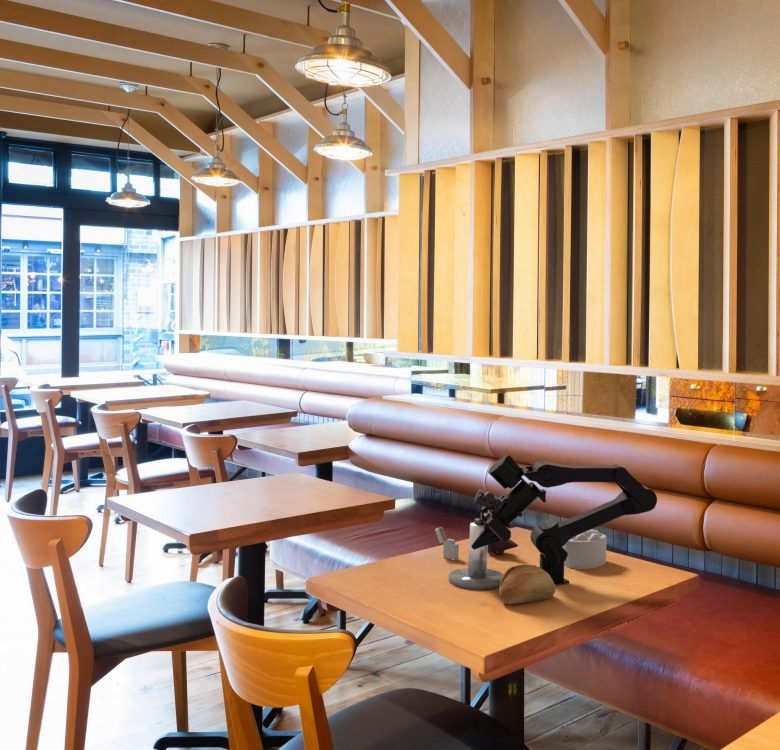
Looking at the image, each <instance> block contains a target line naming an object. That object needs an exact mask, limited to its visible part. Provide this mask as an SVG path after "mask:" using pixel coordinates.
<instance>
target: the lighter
mask: <svg viewBox="0 0 780 750" xmlns="http://www.w3.org/2000/svg"><path fill="white" fill-rule="evenodd" d="M434 530H435V534H436V536H437V539H438V540H437V541H438V542H439V544H443V546H442V547H443V553H442V554H443V556H442V557H445V558H444V559H446V558H449V559H448V560H450V559H454V560H455V561H458V560H459V550H460V548H459V547H460V545H459V542H458V543H457V542H456V540H455V539H452V538H447V537H446V534H445V531H444V529H443V526H439V527H437V528H434ZM457 559H458V560H457ZM454 560H453V561H454Z"/></svg>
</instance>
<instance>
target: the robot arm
mask: <svg viewBox="0 0 780 750" xmlns="http://www.w3.org/2000/svg"><path fill="white" fill-rule="evenodd" d="M487 472H488V473H487V474H489V475H490V476H491V478H493V479H494V481H496V482H497V484H498V485H500V486H501V487H502V488H503V490H506V489H510V491H509V492H508V493H507V494H502V495H500V496H497V495H495V493H491V492H490V491H489V490H488V491H487V490H484V489H483V488H478V490H477V492H476V494H475V496H474V498H473V501H474V503H475V504H477V505H479V506H482V507H480V509H481V512H480V518H481V519H484V529H483V531H482V532H481V533H480V535H479V536H478V537H477V539H476V540H475V541H474V543H473V544H472V546H471V547H472V548H473V549H474V550H475V549H478V548H480V547H483V546H486V545H489V544H492V543H495V542H498V541H502V540H503V541H504V542H505V543H506V542H507V541H508V540H509V539H510V540H511V537H512V531H511V529H510V528H511V527H512V526H511V524H512V523H513V522H514V521H515V520H516V519H517V518H518V517H519V518H521V517H523V516H524V514H523V512H525V511H526V509H527V508H529V507H530V505H531V504H533V503H534V502H535V501H536V500H537V499H540V501H542V503H544V504H545V503H546V502H547V497H546V496H547V491H546V489H543V488H554V487H558V486H559V487H560V486H563V485H565V484H571V483H615V484H616V485H617V486H618V487H619V489H620V490H621V492H620V493H619V494H618V495H617V496H616V497H615V498H614V499H612V500H609V501H607V502H605V503H603V504H600V505H598V506H596V507H593V508H590V509H589V510H587V511H584V512H582V513H579V514H577V515H575V516H573V517H570V518H568V519H566V520H563V521H557V520H555V518H553V517H550V518H548V519H546V520H545V521H541V522H537V523H536V524H537V525H536V526H535V527H533V528H532V529H531V533H530V541H531V543H532V545H534V547H535V548H536V549H537V551H538V552H539V553H540V554H539V568H541V569H543V570H544V571H546V572H547V573H548V574H549V575H550V577H551V578H552V580H553V582H554V585H555V586H556V585H563V584H569V583H570V580H568V579H566V578H565V566H564V561H566V558H567V556H568V553H567V552H566V551H565V550H564V548H563V546H564V545H565V544H566V543H567V542H568V541H569V540H570V539H571V538H573V537H575V536H577V535H579V534H582V533H584V532H586V531H589V530H591V529H592V530H594V529H595V528H598V527H601V526H603V525H605V524H607V523H610V522H612V521H614V520H616V519H618V518H621V517H623V516H632V515H639V514H644V513H648V512H651V511H653V510H654V509H655V508H656V505H657V503H658V496H657V494H656V492H655V491H653V490H652V489H651V488H648V487H647V486H645V485H643V484H641V483H640V482H639V481H638V480H637V479H636V478H635V477H634V476H632V474H630V472H628V470H627V468H625V467H623V466H621V465H619V464H612V465H567V464H563V463H558V462H552V461H548V460H538V461H536V462H535V463H534V464H533V465H528V466H520V465H518V463H516V461H515V460H514V459H513V457H512V456H511V455H510V454H508V453H507V454H505V455H504V456H503V457H501V458H499V459H498V460H495V462H494V463H493V464H492V465H491V466H490V467H489V469H488V471H487ZM523 476H524V478H527V480H528V481H530V482H527V480H525V479H524V478H523ZM534 482H535V483H537V484H538V485H539V486H540V487H542V489H540V488H539V486H537V484H535V483H534Z"/></svg>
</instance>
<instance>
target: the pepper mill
mask: <svg viewBox="0 0 780 750" xmlns="http://www.w3.org/2000/svg"><path fill="white" fill-rule="evenodd" d="M483 529H484V519H481V517H480V518H479V517H476V518H474V521H473V522H472V521H471V522H470V524H469V540H468V541H469V542H468V545H469V546H468V564H467V565H468V567H467V568H468V576H469V577H471V578H477V579H482V578H486V575H487V569H488V552H489V551H488V545H486V546H483V547H480V548H478V549H475V550H474V549H473V548H472V547H471V546H472V544H473V543H474V541H475V540H476V539H477V537H478V536H479V535H480V533H481V532H482V531H483Z"/></svg>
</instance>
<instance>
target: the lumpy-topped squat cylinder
mask: <svg viewBox="0 0 780 750" xmlns="http://www.w3.org/2000/svg"><path fill="white" fill-rule="evenodd" d="M563 548H564V550H565V551H566V552H567V553H568V556H567V558H566V561H564V567H565V566H566V568H568V567H569V568H568V569H576V570H577V569H578V570H586V569H588V568H589V569H596V568H598V567H601V566H603V565H605V564H607V535H606V534H603V533H601V532H600V531H599V530H596V529H591V530H589V531H586V532H584V533H582V534H579V535H577V536H575V537H573V538H571V539H570V540H569V541H568V542H567V543H566V544H565V545H564V546H563Z"/></svg>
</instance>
